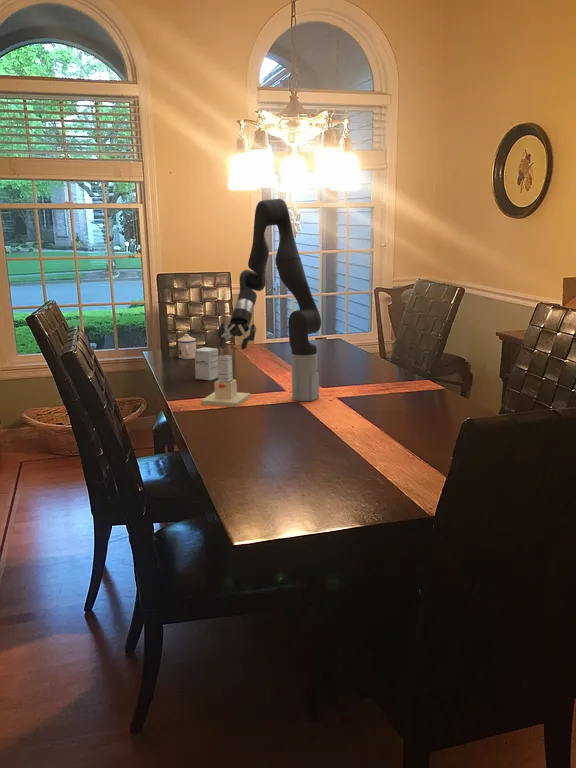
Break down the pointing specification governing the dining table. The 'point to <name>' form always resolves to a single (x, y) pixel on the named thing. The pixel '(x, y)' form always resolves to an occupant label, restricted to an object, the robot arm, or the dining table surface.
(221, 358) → the column
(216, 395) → the stand base
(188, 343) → the teacup with lid
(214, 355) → the supplement box
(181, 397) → the dining table surface
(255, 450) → the dining table surface
